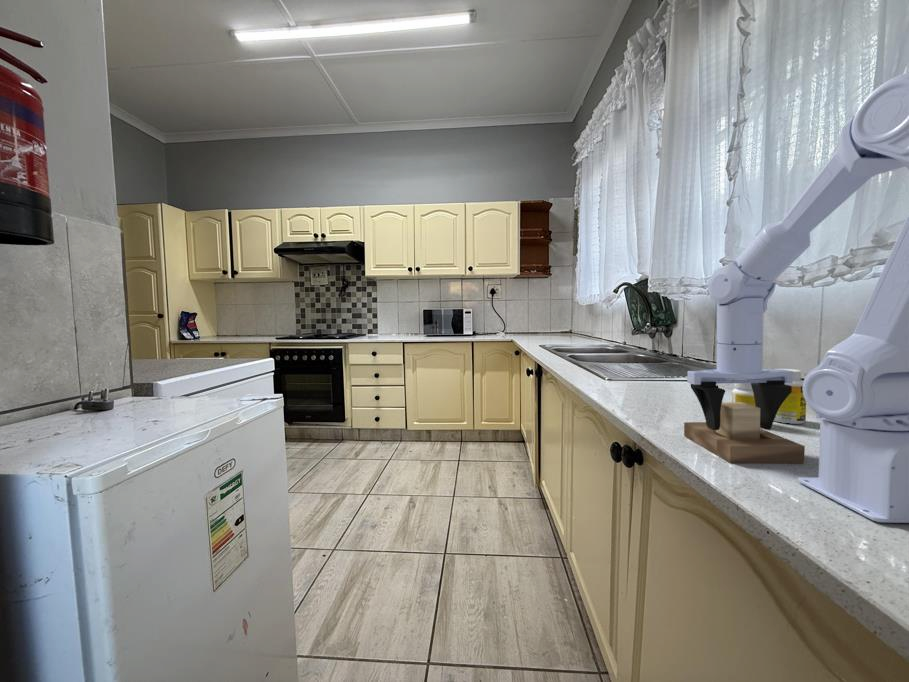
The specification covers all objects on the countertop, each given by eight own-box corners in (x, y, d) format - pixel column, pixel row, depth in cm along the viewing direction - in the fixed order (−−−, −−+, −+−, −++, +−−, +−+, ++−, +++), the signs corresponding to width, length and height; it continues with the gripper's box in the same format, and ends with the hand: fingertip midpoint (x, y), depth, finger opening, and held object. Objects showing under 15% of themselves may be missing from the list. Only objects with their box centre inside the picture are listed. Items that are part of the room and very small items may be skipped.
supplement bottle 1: (768, 426, 68) (769, 382, 67) (740, 426, 68) (740, 382, 68) (753, 419, 72) (753, 378, 72) (726, 419, 73) (727, 378, 73)
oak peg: (759, 452, 55) (760, 408, 55) (732, 452, 56) (732, 408, 55) (740, 443, 59) (741, 402, 59) (715, 443, 60) (716, 402, 59)
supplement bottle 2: (805, 427, 67) (807, 372, 66) (766, 421, 71) (767, 370, 70) (806, 420, 71) (807, 369, 70) (768, 415, 75) (769, 367, 74)
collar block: (804, 463, 51) (804, 446, 51) (729, 462, 52) (730, 446, 52) (743, 435, 63) (743, 421, 63) (684, 436, 64) (684, 422, 64)
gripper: (768, 340, 60) (766, 420, 60) (677, 343, 61) (677, 421, 62) (806, 343, 53) (803, 433, 53) (702, 346, 54) (701, 434, 55)
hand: (738, 428), depth 57 cm, fingers open, 7 cm apart
